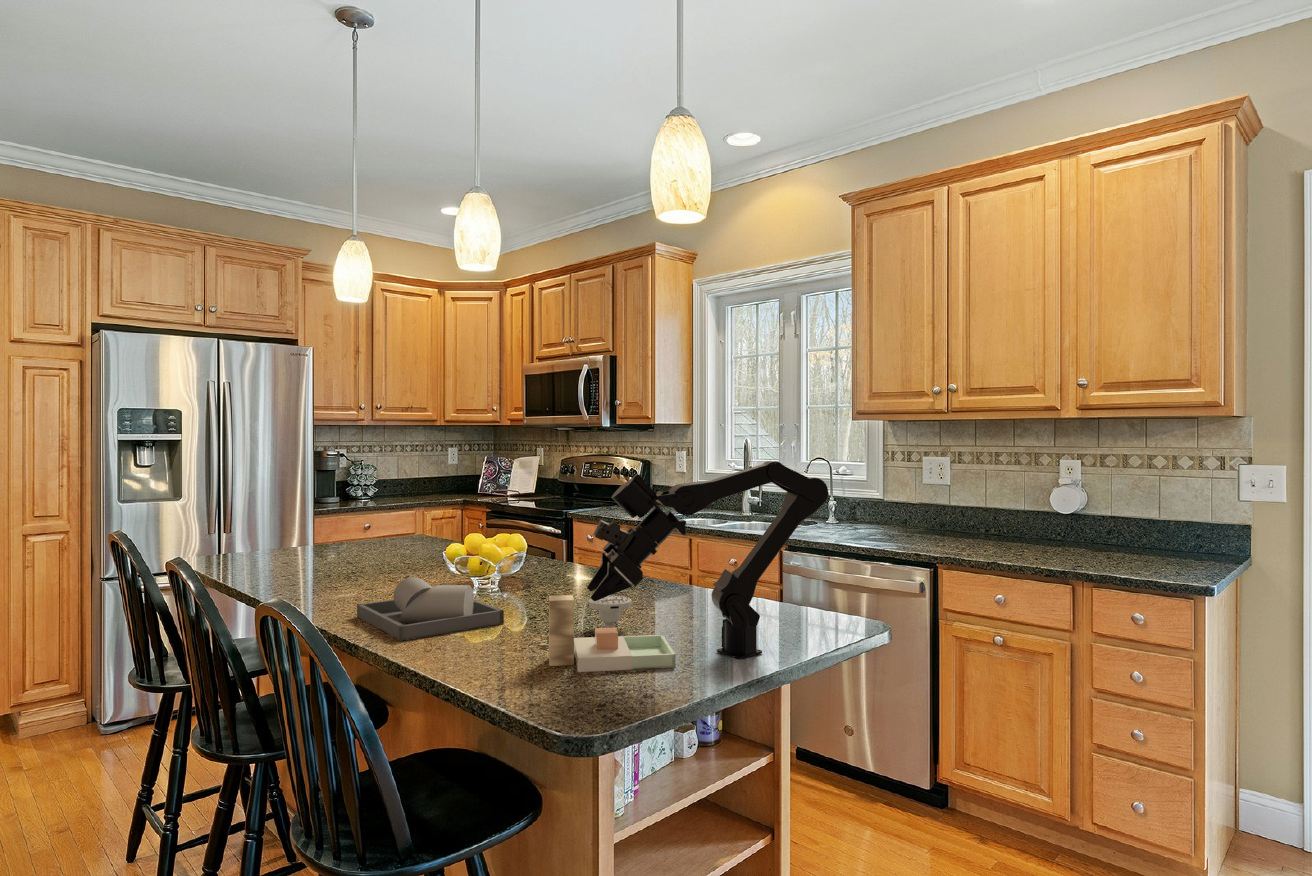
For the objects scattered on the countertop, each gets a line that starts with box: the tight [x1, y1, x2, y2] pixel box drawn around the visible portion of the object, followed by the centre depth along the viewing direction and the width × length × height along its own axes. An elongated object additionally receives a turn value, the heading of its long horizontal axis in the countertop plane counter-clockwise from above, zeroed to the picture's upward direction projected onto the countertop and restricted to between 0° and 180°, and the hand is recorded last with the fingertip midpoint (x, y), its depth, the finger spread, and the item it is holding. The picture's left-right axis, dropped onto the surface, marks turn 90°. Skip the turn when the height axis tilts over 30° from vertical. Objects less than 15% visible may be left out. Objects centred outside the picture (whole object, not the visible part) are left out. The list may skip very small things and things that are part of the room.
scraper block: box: [548, 594, 575, 667], centre depth 144 cm, size 4×4×12 cm
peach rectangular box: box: [594, 627, 619, 650], centre depth 145 cm, size 4×4×3 cm
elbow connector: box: [392, 576, 475, 623], centre depth 176 cm, size 18×10×20 cm
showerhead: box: [588, 594, 632, 628], centre depth 169 cm, size 9×7×10 cm
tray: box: [622, 634, 677, 671], centre depth 147 cm, size 8×14×2 cm, turn 9°
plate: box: [574, 635, 633, 673], centre depth 145 cm, size 10×14×2 cm
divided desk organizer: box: [356, 599, 505, 642], centre depth 176 cm, size 27×24×3 cm
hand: (590, 594), depth 145 cm, fingers open, 9 cm apart
